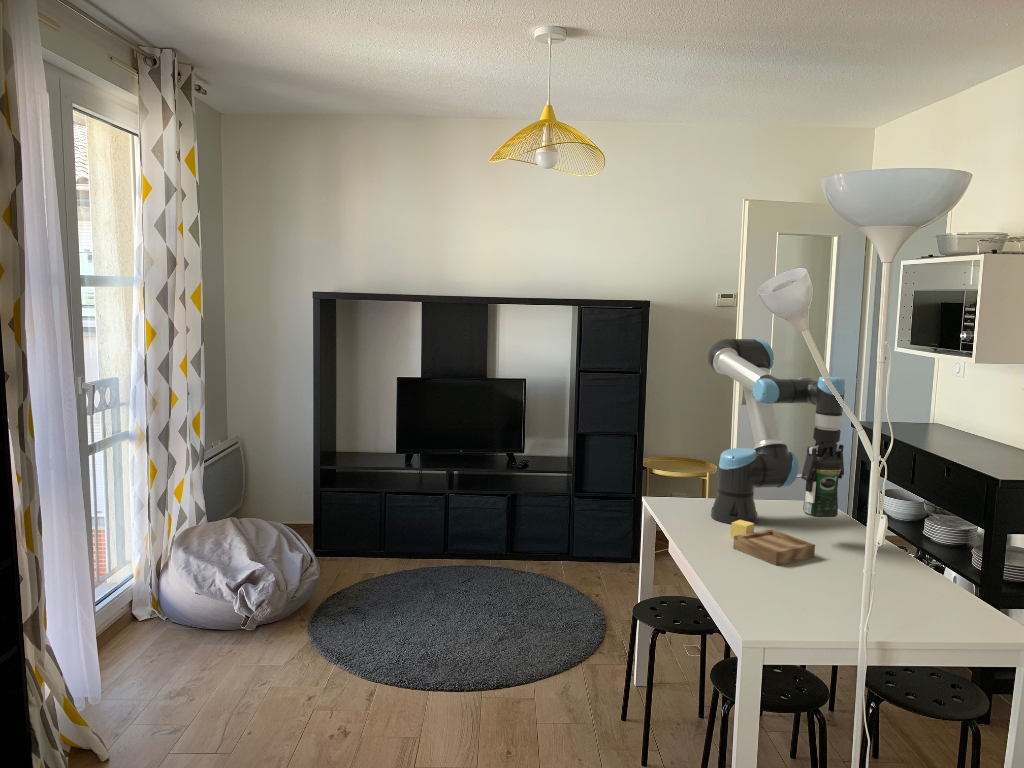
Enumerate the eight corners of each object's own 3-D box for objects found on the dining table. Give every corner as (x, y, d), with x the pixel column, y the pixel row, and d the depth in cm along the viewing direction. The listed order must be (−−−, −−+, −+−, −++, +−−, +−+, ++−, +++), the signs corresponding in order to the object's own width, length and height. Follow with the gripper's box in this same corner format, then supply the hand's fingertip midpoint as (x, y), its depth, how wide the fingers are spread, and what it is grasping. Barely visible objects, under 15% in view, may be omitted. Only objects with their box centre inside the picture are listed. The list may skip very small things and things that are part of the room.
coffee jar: (828, 511, 246) (834, 452, 244) (840, 518, 238) (846, 458, 236) (798, 510, 246) (803, 452, 243) (809, 518, 238) (815, 458, 235)
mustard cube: (738, 535, 248) (739, 519, 247) (753, 539, 244) (754, 523, 244) (730, 538, 244) (731, 522, 244) (745, 542, 241) (746, 526, 240)
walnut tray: (770, 541, 242) (771, 529, 242) (814, 557, 228) (815, 544, 228) (733, 548, 234) (734, 535, 233) (775, 565, 220) (776, 552, 220)
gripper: (840, 423, 247) (833, 493, 250) (792, 427, 236) (786, 500, 239) (861, 427, 241) (854, 499, 244) (813, 432, 230) (806, 507, 233)
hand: (820, 499), depth 241 cm, fingers closed on coffee jar, 9 cm apart
